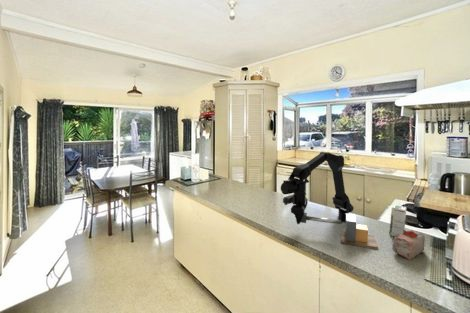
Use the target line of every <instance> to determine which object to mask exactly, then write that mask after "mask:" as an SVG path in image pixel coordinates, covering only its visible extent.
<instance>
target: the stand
mask: <svg viewBox="0 0 470 313" xmlns="http://www.w3.org/2000/svg"><path fill="white" fill-rule="evenodd" d="M356 224H357V219H356V214H355V213H353V214H352V213H349V214H346V222H345V224H344V231H343V230H340V244H341V245H349V246H355V247H360V248H362V247H363V248H368V249H374V250H379V246H378V244H377V240H376V238H375V235H373V234H368V242H367V243H366V242H360V241H356Z"/></svg>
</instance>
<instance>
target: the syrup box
mask: <svg viewBox="0 0 470 313" xmlns="http://www.w3.org/2000/svg"><path fill="white" fill-rule="evenodd" d="M390 212H391V213H390V222H389V224H390V225H389V234H388V236H392V237H394V238H395V237H396V236H397V235H399V234H400V235H402V234H403V233H404V232H403V230H406V226H405V225H406V220H407V219H406V218H407V207H406V206H402V205H398V204H397V205H396V204H395V205H393V204H392V207H391V211H390ZM400 235H399V236H400Z"/></svg>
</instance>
